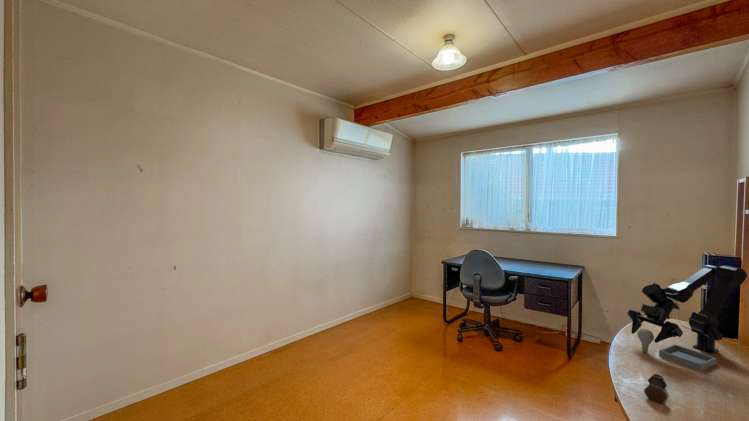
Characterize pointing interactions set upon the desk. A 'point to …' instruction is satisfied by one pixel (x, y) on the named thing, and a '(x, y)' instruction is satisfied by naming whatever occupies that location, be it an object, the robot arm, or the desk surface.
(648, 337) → the light bulb
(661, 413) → the desk surface
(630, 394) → the desk surface
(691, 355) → the tray
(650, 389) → the dark brown lumpy piece
